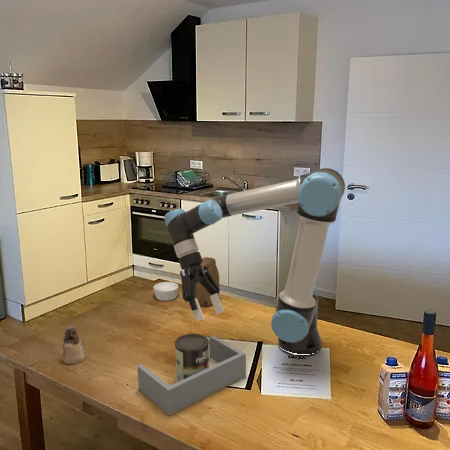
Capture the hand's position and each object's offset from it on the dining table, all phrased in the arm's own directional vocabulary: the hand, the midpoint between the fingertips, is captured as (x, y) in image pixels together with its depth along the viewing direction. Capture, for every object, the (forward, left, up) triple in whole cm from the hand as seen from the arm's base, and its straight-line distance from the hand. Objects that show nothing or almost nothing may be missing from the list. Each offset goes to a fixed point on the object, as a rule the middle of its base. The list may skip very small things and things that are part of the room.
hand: (210, 316), depth 148 cm
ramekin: (+40, -47, -18) cm, 64 cm away
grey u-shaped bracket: (+2, +11, -17) cm, 21 cm away
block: (+20, -47, -18) cm, 54 cm away
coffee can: (+2, +11, -18) cm, 21 cm away
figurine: (+46, +11, -18) cm, 50 cm away
